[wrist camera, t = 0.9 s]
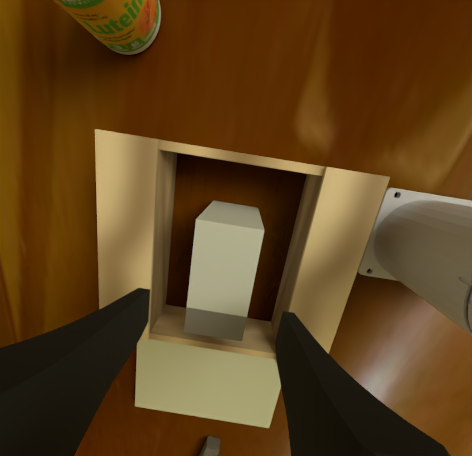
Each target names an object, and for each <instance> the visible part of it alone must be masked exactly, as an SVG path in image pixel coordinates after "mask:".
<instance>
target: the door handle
mask: <svg viewBox="0 0 472 456" xmlns="http://www.w3.org/2000/svg"><path fill="white" fill-rule="evenodd" d="M219 449H220V439H218V438H215V437H211V436H208V437H207V439H206V441H205V444H204V446H203V448H202V450H201V453H200V455H199V456H217V455H218V453H219Z"/></svg>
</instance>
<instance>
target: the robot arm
mask: <svg viewBox="0 0 472 456" xmlns="http://www.w3.org/2000/svg"><path fill="white" fill-rule="evenodd" d="M396 192H397V193H398V195H397V197H394V194H395V193H396ZM368 269H370V271H368V272H367V270H368ZM357 272H358V273H359V274H361V275H365V276H371V277H377V278H384V279H390V280H396V281H400V282H401V283H402V284H404V285H405V286H406V287H408V288H409V289H410V290H412V291H413V292H414V293H416V294H417V295H418V296H420V297H421V298H422V299H424V300H425V301H426V302H428V303H429V304H430V305H432V306H433V307H434V308H436V309H437V310H438V311H440V312H441V313H442V314H444V315H445V316H446V317H448V318H449V319H450V320H452V321H453V322H454V323H456V324H457V325H458V326H460V327H461V328H462V329H464V330H465V331H466V332H468V333H469V334H470V335H472V201H470V200H464V199H458V198H452V197H445V196H439V195H433V194H427V193H421V192H415V191H409V190H402V189H396V188H387V189H386V190H385V193H384V196H383V199H382V202H381V205H380V208H379V210H378V213H377V216H376V219H375V222H374V225H373V228H372V231H371V233H370V236H369V239H368V242H367V245H366V248H365V251H364V254H363V256H362V259H361V262H360V265H359V268H358V271H357ZM149 302H150V289H144V288H137V289H135V290H134V291H132V292H130V293H128V294H126V295H125V296H123V297H121V298H119V299H118V300H116V301H114V302H112V303H110V304H109V305H107V306H105V307H103V308H101V309H99V310H97V311H95V312H93V313H91V314H89V315H87V316H85V317H83V318H81V319H79V320H77V321H75V322H72V323H70V324H68V325H65V326H63V327H61V328H58V329H56V330H53V331H50V332H48V333H45V334H42V335H39V336H36V337H34V338H31V339H28V340H25V341H22V342H19V343H16V344H13V345H9V346H6V347H3V348H0V456H74V455H75V453H76V451H77V448H78V446H79V444H80V442H81V440H82V438H83V436H84V434H85V432H86V431H87V429H88V427H89V425H90V423H91V421H92V419H93V417H94V415H95V413H96V411H97V409H98V407H99V405H100V403H101V402H102V400H103V398H104V396H105V394H106V392H107V391H108V389H109V387H110V385H111V384H112V382H113V381H114V379H115V377H116V376H117V374H118V373H119V371H120V370H121V368H122V367H123V365H124V363H125V362H126V360H127V359H128V357H129V356H130V354H131V353H132V351H133V349H134V348H135V346H136V345H137V343H138V341H139V340H140V338H141V336H142V334H143V332H144V330H145V328H146V326H147V323H148V321H149ZM275 349H276V362H277V367H278V372H279V378H280V383H281V388H282V393H283V398H284V403H285V408H286V414H287V420H288V429H289V438H290V447H291V456H450V454H449V453H448V451H447V450H446V449H445V447H444V446H443V445H441V444H440V443H438V442H437V441H435V440H434V439H432V438H431V437H429V436H428V435H426V434H425V433H423V432H422V431H420V430H419V429H417V428H416V427H415V426H413V425H412V424H410V423H409V422H407V421H406V420H404V419H403V418H402V417H400V416H399V415H398V414H396V413H395V412H394V411H392V410H391V409H389V408H388V407H387V406H386V405H384V404H383V403H382V402H380V401H379V400H378V399H377V398H375V397H374V396H373V395H372V394H371V393H369V392H368V391H367V390H366V389H365V388H363V387H362V386H361V385H360V384H359V383H358V382H356V381H355V380H354V379H353V378H352V377H351V376H350V375H349V374H348V373H347V372H346V371H345V370H344V369H343V368H342V367H340V366H339V365H338V364H337V362H336V361H335V360H334V359H333V358H332V357H331V356H330V355H329V354H328V353H327V352H326V351H325V350H324V349H323V347H322V346H321V345H320V344H319V343H318V342H317V340H316V339H315V338H314V337H313V336H312V334H311V333H310V332H309V331H308V329H307V328H306V327H305V326H304V324H303V323H302V322H301V321H300V319H299V318H298V317H297V316H296V314H295V313H293V312H286V311H283V312H282V316H281V320H280V324H279V328H278V332H277V336H276V340H275Z"/></svg>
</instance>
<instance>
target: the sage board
mask: <svg viewBox="0 0 472 456" xmlns="http://www.w3.org/2000/svg"><path fill="white" fill-rule="evenodd" d="M280 388H281V383H280V378H279V372H278V367H277V363H276V362H275V359H269V358H263V357H257V356H251V355H245V354H239V353H232V352H226V351H220V350H214V349H208V348H202V347H196V346H189V345H183V344H177V343H171V342H165V341H159V340H153V339H149V340H148V342H147V341H141V340H139V341H138V343H137V361H136V390H135V406H136V407H142V408H148V409H154V410H160V411H167V412H173V413H179V414H185V415H191V416H197V417H203V418H210V419H216V420H222V421H228V422H234V423H240V424H246V425H253V426H259V427H265V428H269V427H270V423H271V420H272V416H273V413H274V409H275V406H276V402H277V399H278V395H279V392H280Z"/></svg>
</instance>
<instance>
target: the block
mask: <svg viewBox="0 0 472 456" xmlns="http://www.w3.org/2000/svg"><path fill="white" fill-rule="evenodd" d="M263 235H264V227H263V223H262V220H261V216H260V213H259V209H258V208H256V207H250V206H244V205H238V204H232V203H226V202H220V201H213V202H212V203H211V204H210V205H209V206H208V207H207V208H206V209H205V210H204V211H203V212H202V213H201V214H200V215H199V216H198V218H197V219H196V224H195V233H194V242H193V252H192V261H191V270H190V280H189V289H188V298H187V307H186V317H185V326H184V332H186V333H192V334H198V335H205V336H211V337H217V338H223V339H229V340H235V341H242V339H243V334H244V329H245V324H246V319H247V314H248V309H249V304H250V299H251V294H252V289H253V285H254V280H255V275H256V270H257V265H258V260H259V255H260V250H261V245H262V240H263Z"/></svg>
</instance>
